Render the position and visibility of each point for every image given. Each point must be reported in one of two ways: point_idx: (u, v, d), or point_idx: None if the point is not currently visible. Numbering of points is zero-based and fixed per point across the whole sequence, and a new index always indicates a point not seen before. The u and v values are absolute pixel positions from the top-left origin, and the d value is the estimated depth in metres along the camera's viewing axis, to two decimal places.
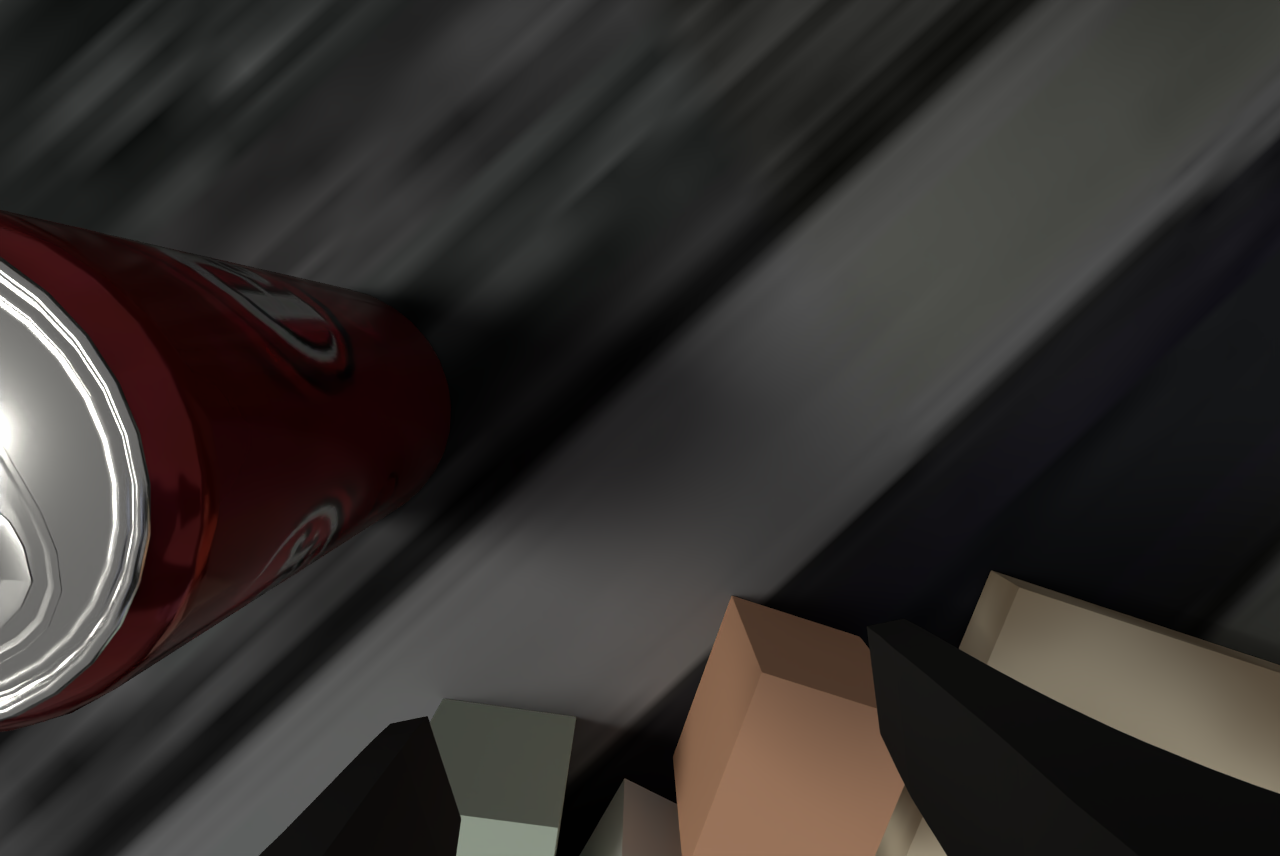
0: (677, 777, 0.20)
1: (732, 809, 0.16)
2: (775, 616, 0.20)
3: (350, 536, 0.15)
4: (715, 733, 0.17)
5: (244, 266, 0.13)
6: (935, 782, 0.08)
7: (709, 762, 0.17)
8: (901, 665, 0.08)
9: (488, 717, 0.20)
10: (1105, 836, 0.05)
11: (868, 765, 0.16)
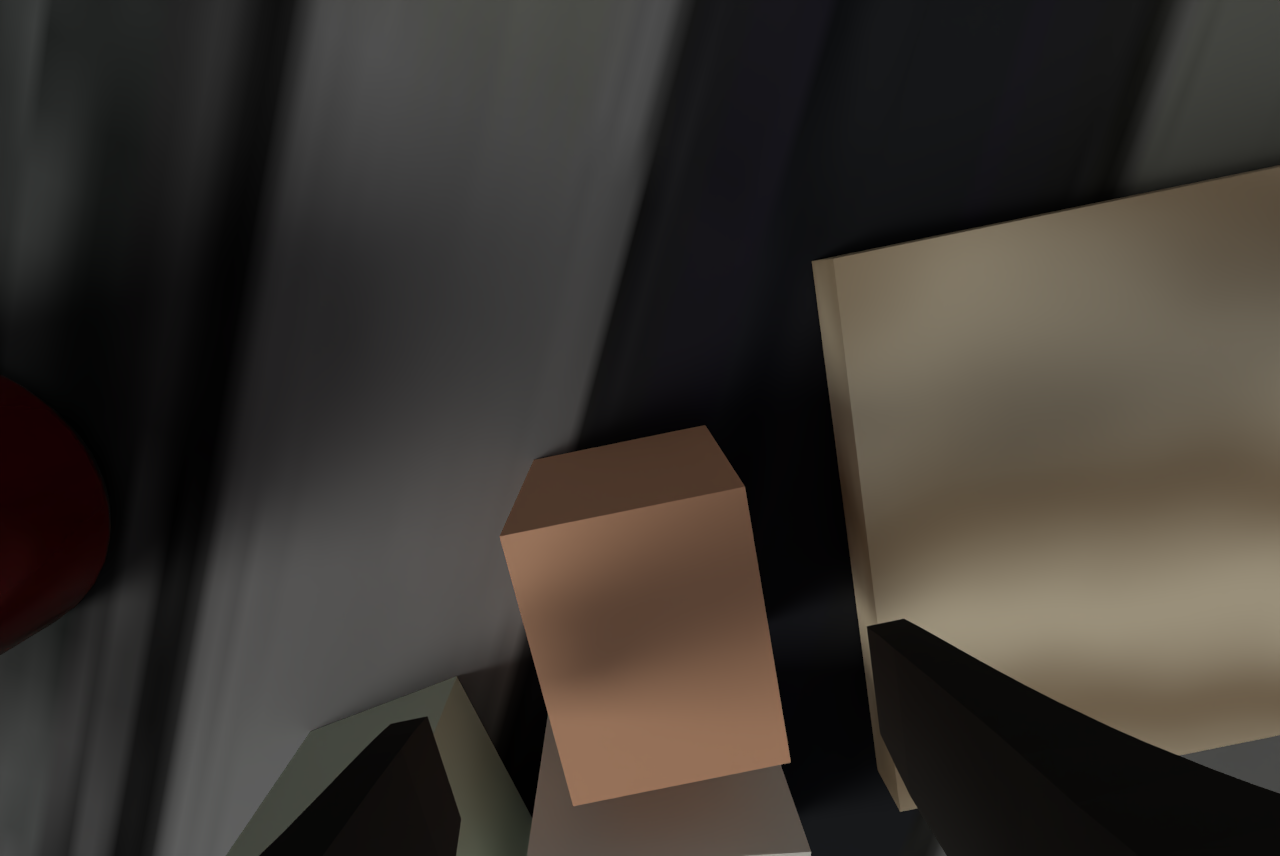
0: None
1: (574, 706, 0.12)
2: (585, 456, 0.15)
3: None
4: None
5: None
6: (935, 782, 0.08)
7: None
8: (901, 665, 0.08)
9: (355, 727, 0.17)
10: (1105, 836, 0.05)
11: (701, 573, 0.11)
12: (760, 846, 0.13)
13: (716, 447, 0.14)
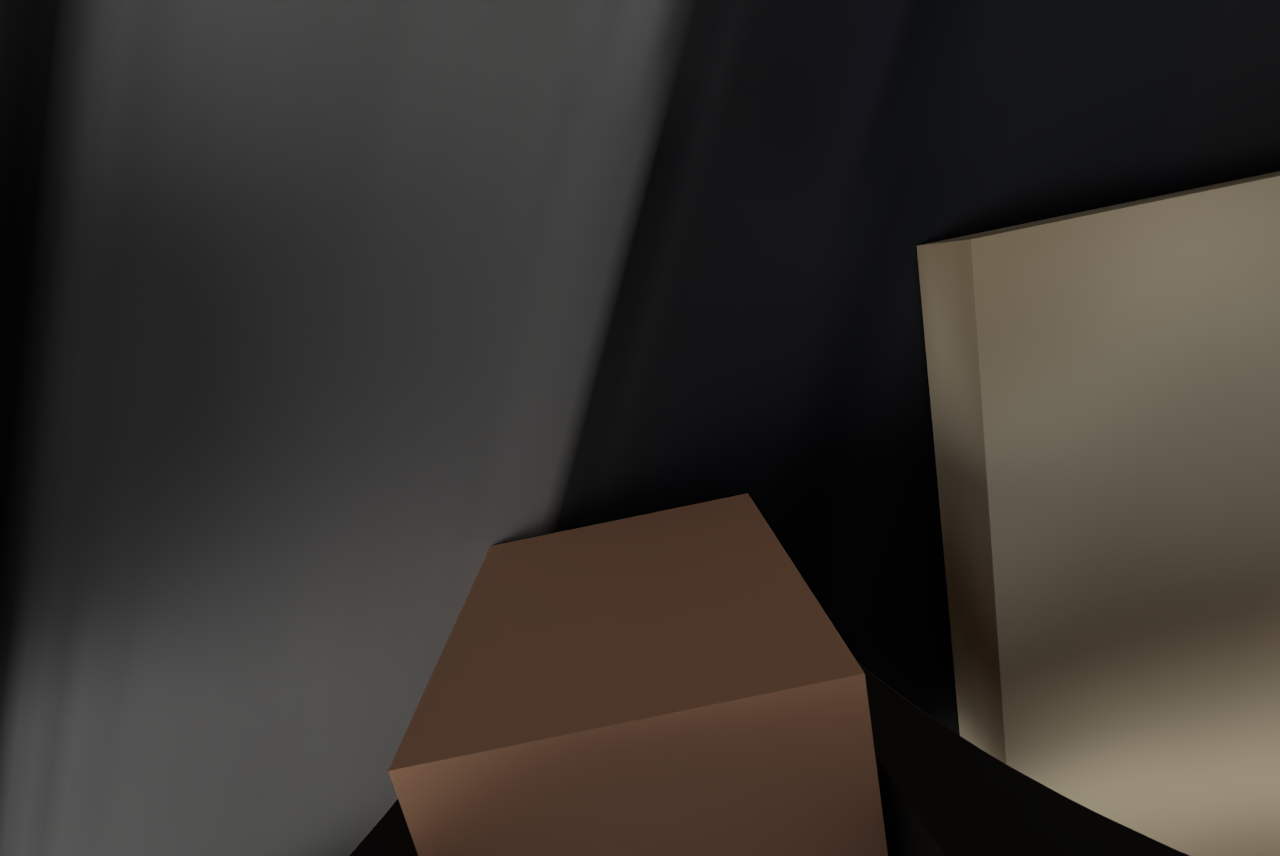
0: None
1: None
2: (566, 547, 0.10)
3: None
4: None
5: None
6: None
7: None
8: None
9: None
10: None
11: (775, 826, 0.06)
12: None
13: (779, 549, 0.08)
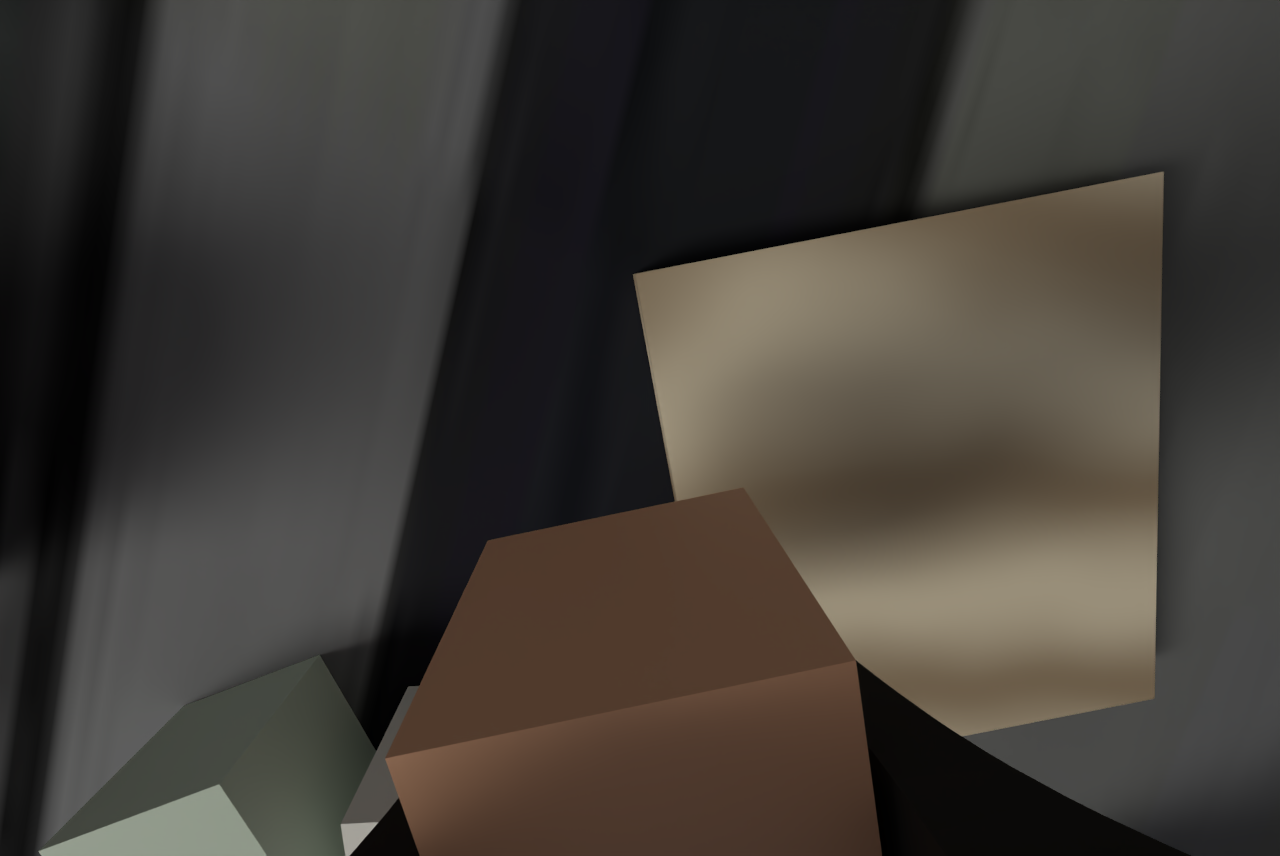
0: None
1: None
2: (562, 541, 0.10)
3: None
4: None
5: None
6: None
7: None
8: None
9: (221, 701, 0.18)
10: None
11: (768, 813, 0.06)
12: None
13: (773, 542, 0.08)
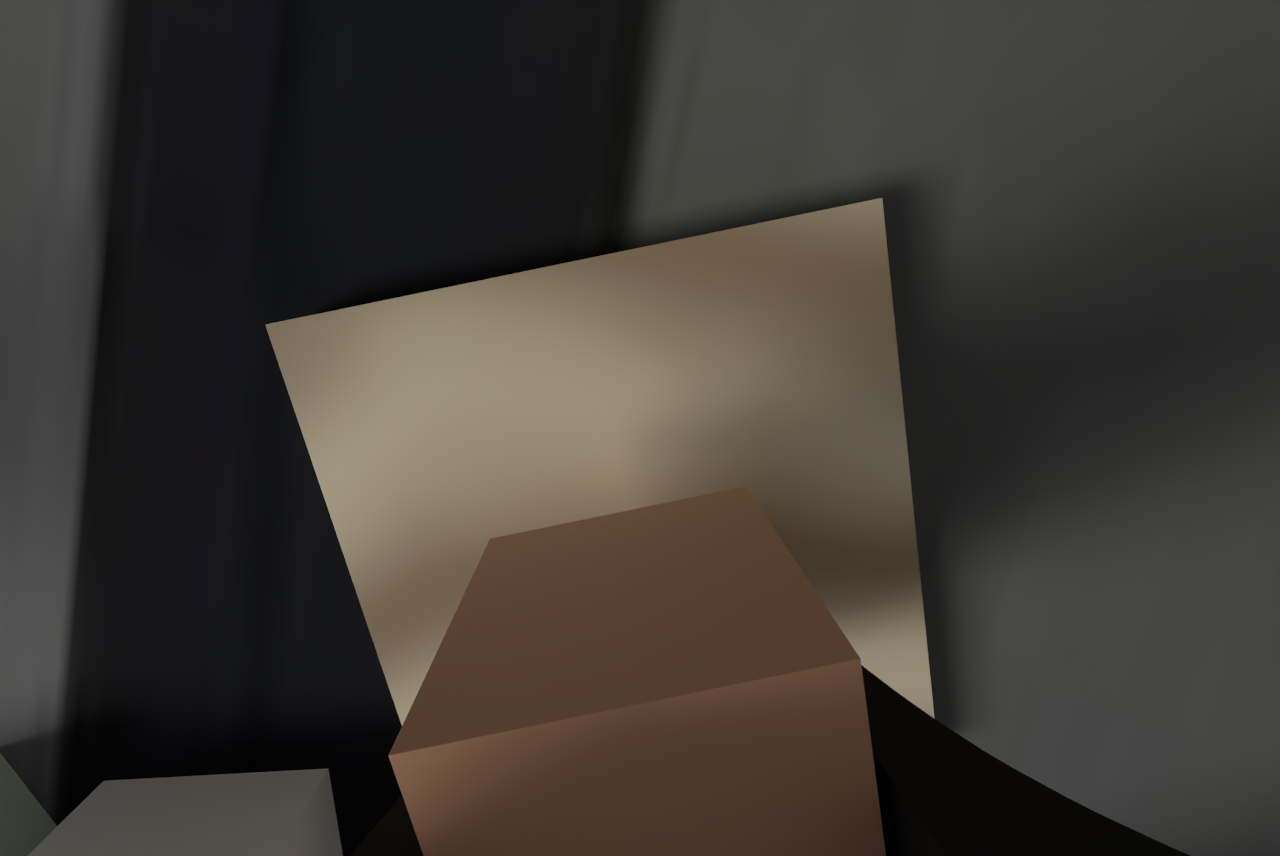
0: None
1: None
2: (565, 539, 0.10)
3: None
4: None
5: None
6: None
7: None
8: None
9: None
10: None
11: (771, 811, 0.06)
12: None
13: (776, 539, 0.08)
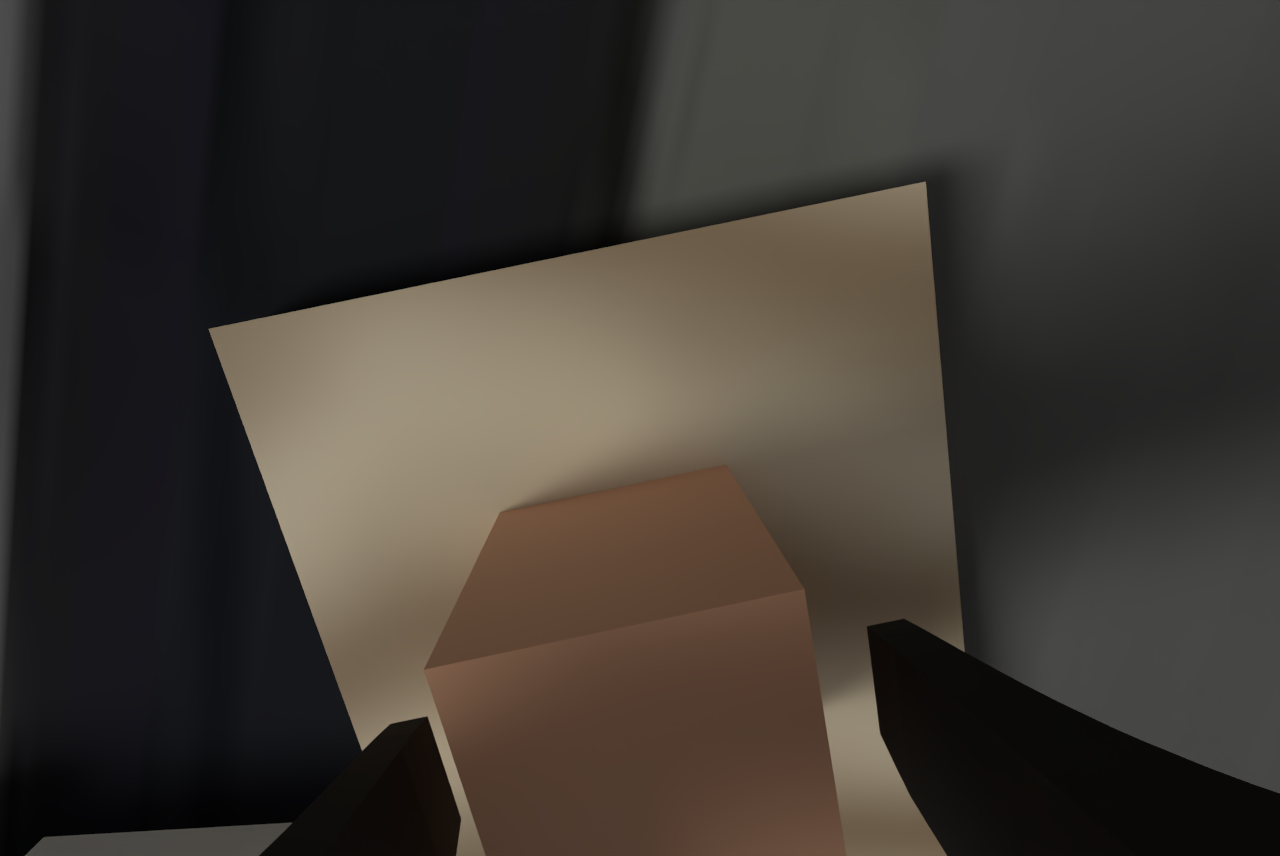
0: None
1: None
2: (566, 511, 0.11)
3: None
4: None
5: None
6: (935, 782, 0.08)
7: None
8: (901, 665, 0.08)
9: None
10: (1105, 837, 0.05)
11: (735, 717, 0.07)
12: None
13: (746, 506, 0.10)
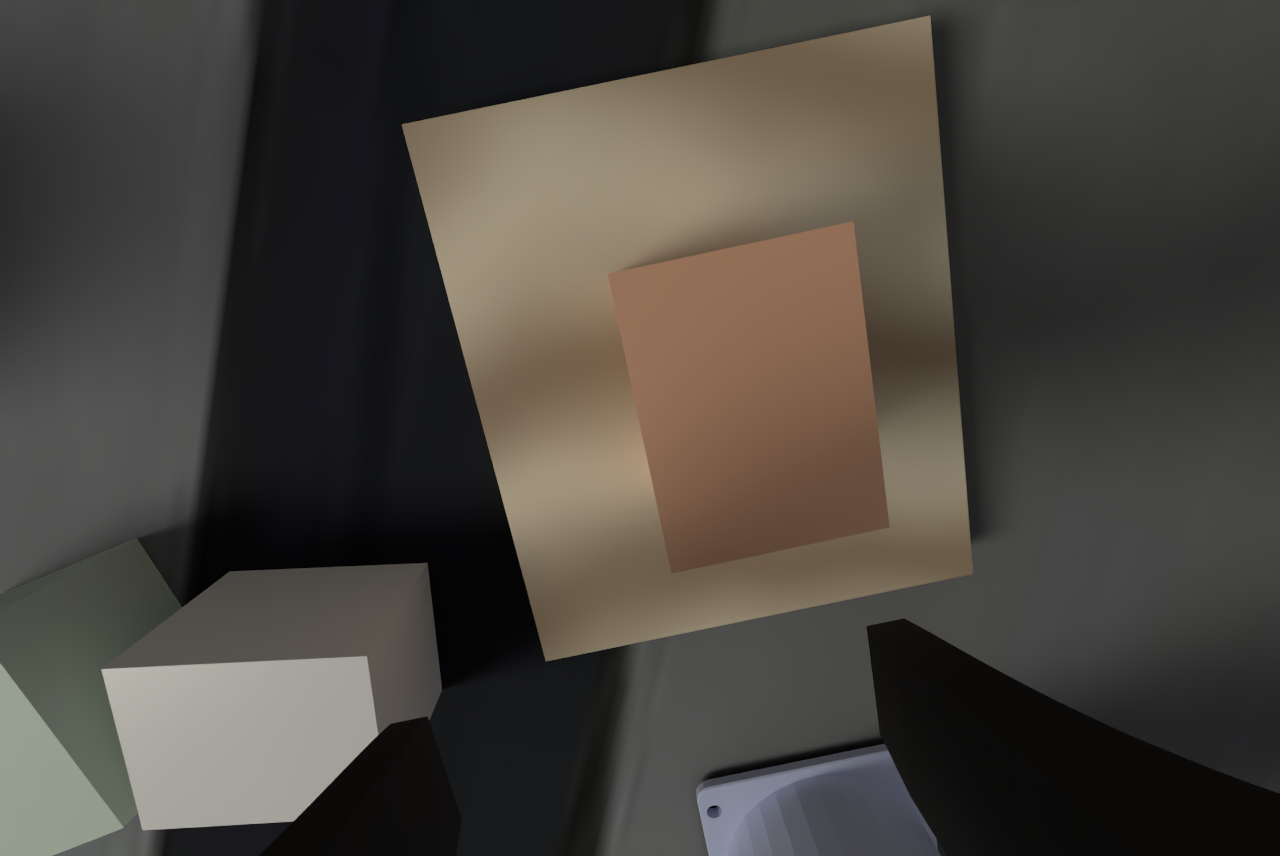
0: None
1: (676, 463, 0.12)
2: None
3: None
4: None
5: None
6: (935, 782, 0.08)
7: None
8: (901, 665, 0.08)
9: (33, 582, 0.18)
10: (1105, 836, 0.05)
11: (806, 316, 0.11)
12: (325, 653, 0.15)
13: None
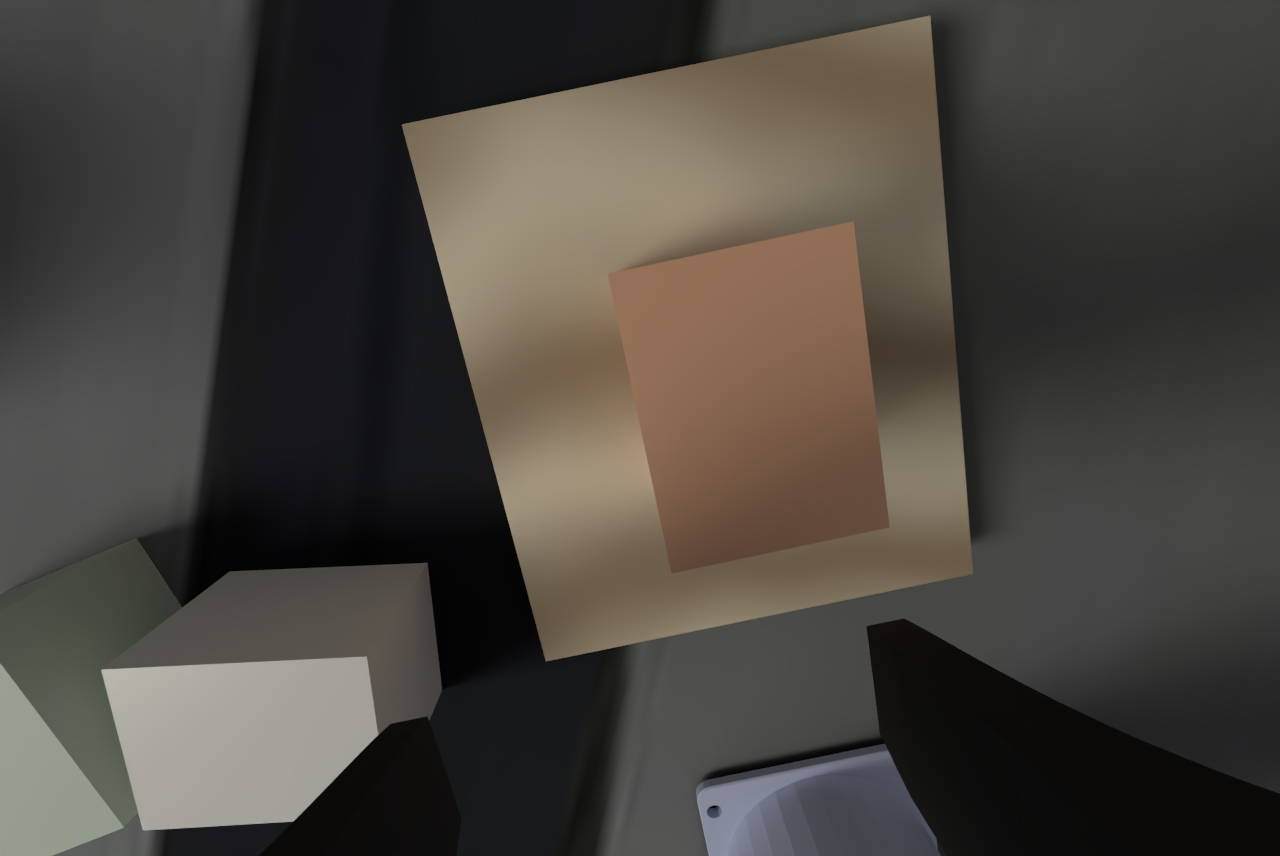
0: None
1: (676, 463, 0.12)
2: None
3: None
4: None
5: None
6: (935, 782, 0.08)
7: None
8: (901, 665, 0.08)
9: (34, 582, 0.18)
10: (1105, 836, 0.05)
11: (806, 316, 0.11)
12: (324, 653, 0.15)
13: None
